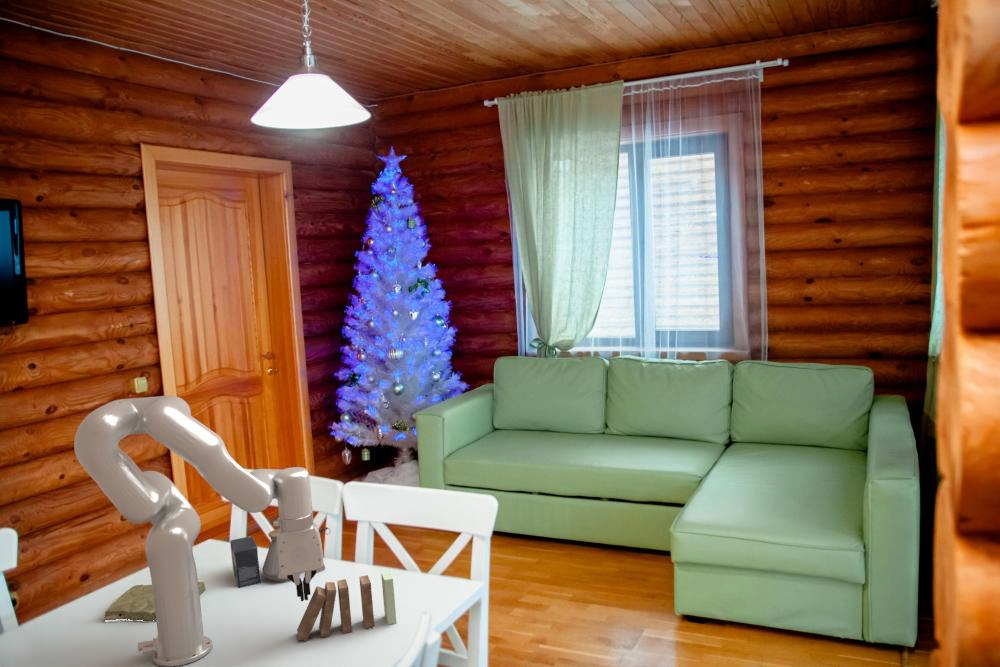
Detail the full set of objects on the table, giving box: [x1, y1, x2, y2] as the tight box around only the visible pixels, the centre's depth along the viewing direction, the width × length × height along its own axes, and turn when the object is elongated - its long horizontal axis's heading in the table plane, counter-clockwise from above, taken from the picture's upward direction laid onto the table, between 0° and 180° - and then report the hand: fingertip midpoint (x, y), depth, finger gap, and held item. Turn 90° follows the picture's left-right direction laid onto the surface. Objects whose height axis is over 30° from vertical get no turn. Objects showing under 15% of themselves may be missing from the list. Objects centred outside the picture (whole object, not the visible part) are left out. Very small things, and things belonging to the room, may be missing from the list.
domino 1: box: [296, 585, 327, 642], centre depth 186 cm, size 2×5×11 cm, turn 18°
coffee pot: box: [262, 526, 331, 583], centre depth 221 cm, size 21×12×15 cm, turn 71°
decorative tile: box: [103, 581, 206, 622], centre depth 208 cm, size 19×20×4 cm
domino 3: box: [336, 579, 353, 635], centre depth 188 cm, size 2×5×11 cm, turn 18°
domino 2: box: [318, 581, 338, 638], centre depth 187 cm, size 2×5×11 cm, turn 18°
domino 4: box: [358, 574, 375, 630], centre depth 190 cm, size 2×5×11 cm, turn 18°
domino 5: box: [380, 570, 398, 626], centre depth 191 cm, size 2×5×11 cm, turn 17°
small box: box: [230, 535, 262, 589], centre depth 222 cm, size 11×6×10 cm, turn 25°
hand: (304, 598), depth 185 cm, fingers closed
